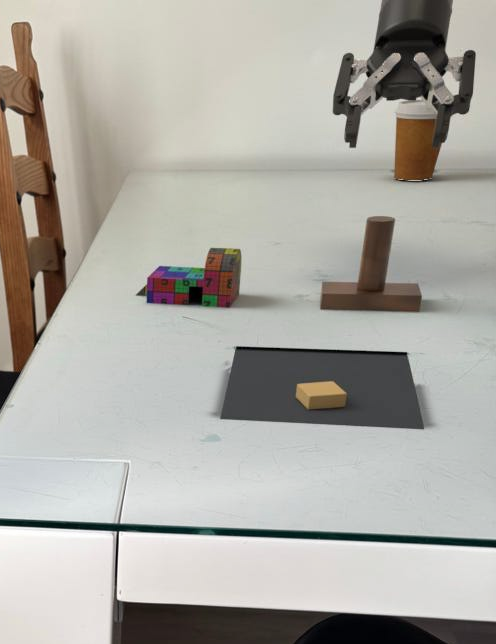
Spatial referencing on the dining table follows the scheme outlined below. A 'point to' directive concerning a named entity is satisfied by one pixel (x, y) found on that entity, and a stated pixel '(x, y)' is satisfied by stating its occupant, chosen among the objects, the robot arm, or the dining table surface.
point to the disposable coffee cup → (415, 141)
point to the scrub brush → (373, 277)
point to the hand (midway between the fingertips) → (394, 143)
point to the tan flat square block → (321, 395)
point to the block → (198, 281)
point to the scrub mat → (322, 366)
